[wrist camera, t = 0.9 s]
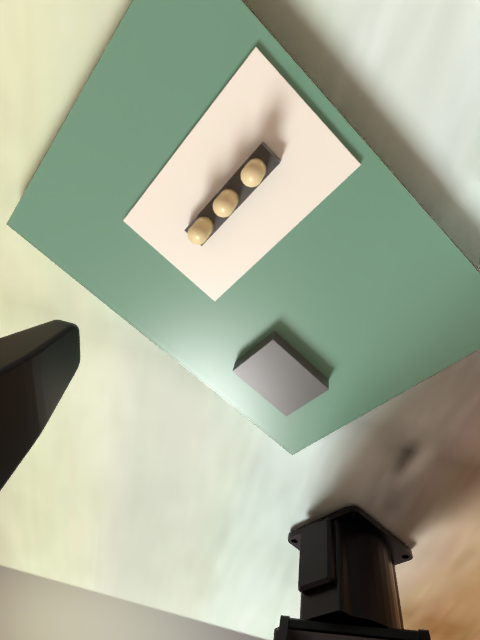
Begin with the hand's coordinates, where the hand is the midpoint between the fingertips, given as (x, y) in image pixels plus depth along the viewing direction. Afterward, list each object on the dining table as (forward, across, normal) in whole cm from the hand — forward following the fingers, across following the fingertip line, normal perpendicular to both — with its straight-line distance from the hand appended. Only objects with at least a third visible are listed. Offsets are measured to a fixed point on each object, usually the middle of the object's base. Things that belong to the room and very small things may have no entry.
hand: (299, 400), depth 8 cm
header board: (+12, +2, +3) cm, 13 cm away
